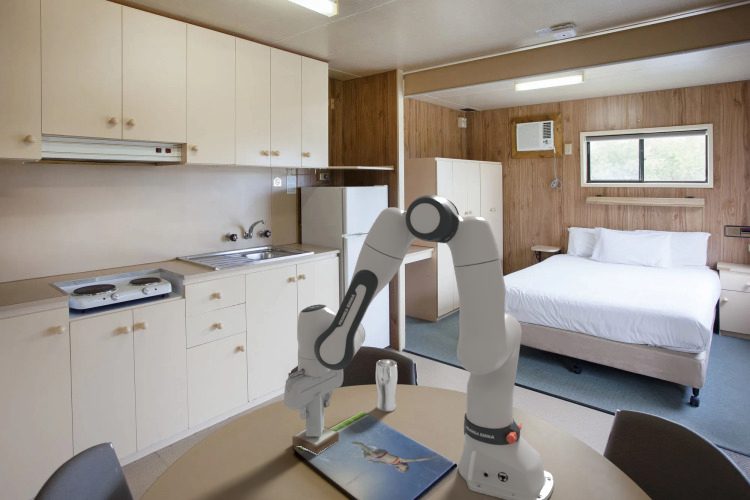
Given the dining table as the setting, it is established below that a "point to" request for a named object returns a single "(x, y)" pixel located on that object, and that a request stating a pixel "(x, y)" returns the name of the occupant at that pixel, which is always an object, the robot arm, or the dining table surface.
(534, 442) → the dining table surface
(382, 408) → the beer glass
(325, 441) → the plinth
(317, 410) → the skincare box
